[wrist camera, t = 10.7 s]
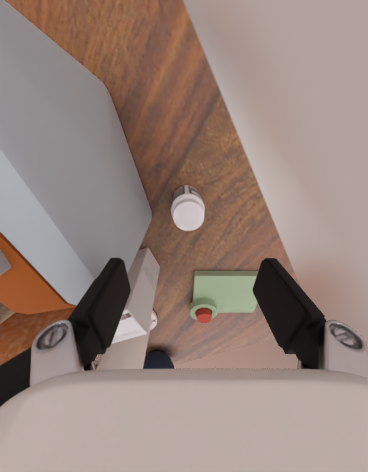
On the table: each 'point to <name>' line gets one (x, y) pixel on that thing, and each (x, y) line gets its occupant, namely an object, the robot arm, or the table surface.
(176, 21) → the table surface
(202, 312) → the button
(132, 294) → the cosmetic box
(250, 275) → the scale
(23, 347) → the bread
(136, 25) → the table surface
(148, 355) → the decorative stone
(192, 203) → the pill bottle
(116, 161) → the alarm clock
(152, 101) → the table surface
